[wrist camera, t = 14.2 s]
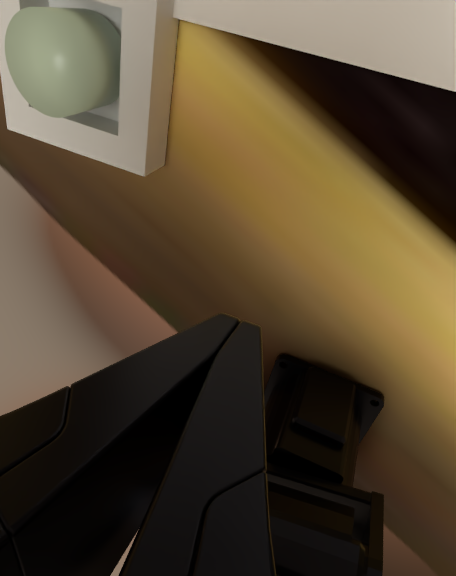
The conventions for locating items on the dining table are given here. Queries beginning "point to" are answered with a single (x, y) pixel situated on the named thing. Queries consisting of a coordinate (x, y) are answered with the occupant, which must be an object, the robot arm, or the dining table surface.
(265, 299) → the dining table surface
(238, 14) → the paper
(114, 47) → the button
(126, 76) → the button housing
